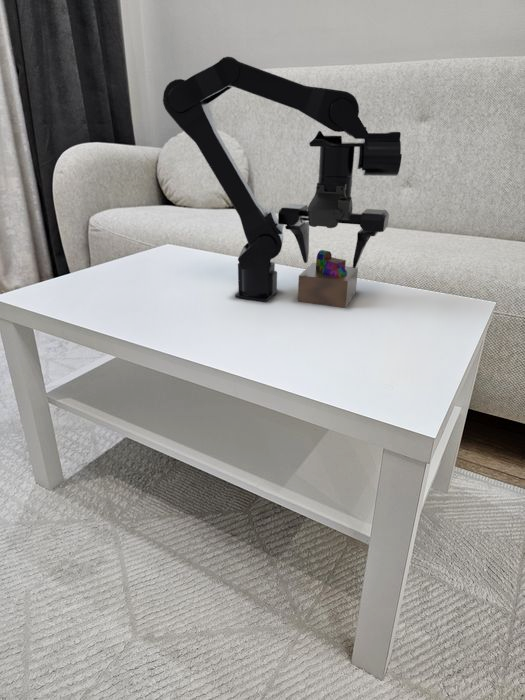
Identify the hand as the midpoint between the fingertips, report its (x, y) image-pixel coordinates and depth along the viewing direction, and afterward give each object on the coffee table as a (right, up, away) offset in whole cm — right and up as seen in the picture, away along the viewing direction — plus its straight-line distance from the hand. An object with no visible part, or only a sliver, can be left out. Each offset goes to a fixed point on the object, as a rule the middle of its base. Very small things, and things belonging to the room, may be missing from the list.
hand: (329, 264), depth 88 cm
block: (0, -1, +1) cm, 1 cm away
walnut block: (0, -6, +3) cm, 6 cm away
